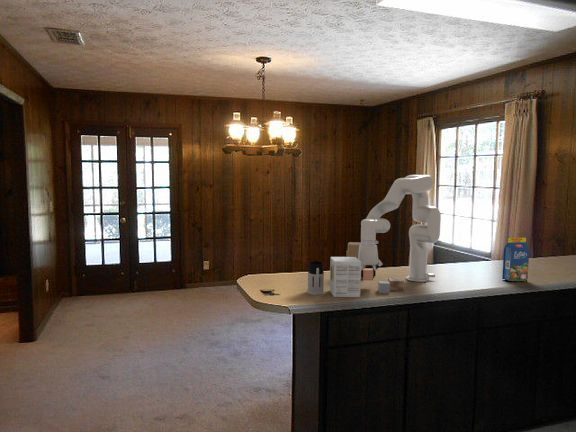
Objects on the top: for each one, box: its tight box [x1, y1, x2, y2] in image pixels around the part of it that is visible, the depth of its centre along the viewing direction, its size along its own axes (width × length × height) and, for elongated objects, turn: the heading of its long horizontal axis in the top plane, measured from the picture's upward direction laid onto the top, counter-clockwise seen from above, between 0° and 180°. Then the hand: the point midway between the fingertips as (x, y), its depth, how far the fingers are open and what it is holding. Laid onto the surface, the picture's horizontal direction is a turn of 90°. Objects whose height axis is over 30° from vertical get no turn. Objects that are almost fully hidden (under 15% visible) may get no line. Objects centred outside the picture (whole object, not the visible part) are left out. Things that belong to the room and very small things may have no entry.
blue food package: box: [501, 237, 530, 282], centre depth 257 cm, size 6×12×25 cm, turn 104°
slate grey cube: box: [377, 280, 391, 294], centre depth 227 cm, size 5×5×5 cm
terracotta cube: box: [362, 268, 374, 281], centre depth 234 cm, size 5×5×5 cm
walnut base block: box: [387, 277, 404, 291], centre depth 234 cm, size 7×7×5 cm
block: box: [346, 241, 366, 280], centre depth 259 cm, size 10×10×20 cm
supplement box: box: [329, 256, 362, 298], centre depth 221 cm, size 13×13×18 cm
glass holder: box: [306, 260, 325, 296], centre depth 220 cm, size 9×14×15 cm, turn 2°
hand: (367, 277), depth 235 cm, fingers closed on terracotta cube, 5 cm apart
